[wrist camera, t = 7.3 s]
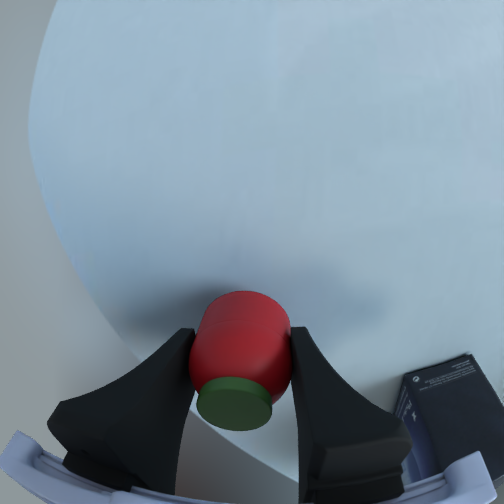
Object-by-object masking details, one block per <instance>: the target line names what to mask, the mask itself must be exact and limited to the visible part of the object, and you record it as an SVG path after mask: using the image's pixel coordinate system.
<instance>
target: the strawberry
mask: <svg viewBox="0 0 504 504" xmlns="http://www.w3.org/2000/svg"><path fill="white" fill-rule="evenodd" d="M188 367H189V374H190V378H191V381H192V384H193V386H194V388H195V389H196V391H197V393H198V394H199V395H198V399H197V403H196V406H197V410H198V412H199V414H200V415H201V417H202V418H203V419H205V420H206V421H207V422H209V423H210V424H212V425H214V426H216V427H219V428H222V429H226V430H232V431H248V430H253V429H257V428H259V427H261V426H263V425H265V424H266V423H267V422H268V421H269V420H270V418H271V415H272V405H273V404H274V403H275V402H276V401H277V400H279V399H280V398H281V396H282V395H283V394H284V392H285V391H286V389H287V387H288V385H289V383H290V380H291V377H292V372H293V361H292V354H291V338H290V322H289V318H288V316H287V314H286V312H285V311H284V309H283V308H282V307H281V306H280V305H279V304H278V303H277V302H276V301H274V300H273V299H272V298H270V297H268V296H266V295H263V294H261V293H257V292H252V291H235V292H230V293H227V294H224V295H222V296H220V297H219V298H217V299H216V300H214V301H213V302H212V303H211V304H210V305H209V306H208V308H207V309H206V311H205V313H204V316H203V319H202V321H201V324H200V326H199V329H198V332H197V334H196V337H195V339H194V342H193V345H192V347H191V350H190V354H189V362H188Z"/></svg>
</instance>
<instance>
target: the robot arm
mask: <svg viewBox="0 0 504 504" xmlns="http://www.w3.org/2000/svg"><path fill="white" fill-rule="evenodd" d="M195 337H196V335H195V331H194V329H192V328H181V329H180V330H179V331H177V332H176V333H175V334H174V335H173V336H172V337H171V338H170V339H169V340H168V341H167V342H166V343H164V344H163V345H162V346H161V347H160V348H159V349H158V350H157V351H156V352H154V353H153V354H152V355H151V356H150V357H148V358H147V359H146V360H145V361H143V362H142V363H141V364H140V365H138V366H137V367H136V368H134V369H133V370H131V371H130V372H128V373H127V374H125V375H124V376H122V377H120V378H119V379H117V380H115V381H113V382H111V383H109V384H108V385H106V386H104V387H102V388H99V389H97V390H95V391H92V392H90V393H87V394H85V395H82V396H79V397H75V398H72V399H68V400H65V401H61V402H60V403H59V404H58V406H57V407H56V409H55V410H54V412H53V413H52V415H51V416H50V418H49V420H48V421H47V425H48V428H49V430H50V432H51V433H52V434H53V435H54V437H55V438H56V439H57V440H58V441H59V442H60V443H61V444H62V445H63V446H64V448H65V449H66V450H67V451H68V452H67V454H66V456H65V458H64V460H63V459H61V458H59V457H57V456H54V455H53V454H51V453H49V452H47V451H45V450H43V448H42V447H41V446H40V445H39V444H38V443H37V442H36V441H35V440H33V439H32V438H31V437H29V436H27V435H25V434H24V433H22V432H21V431H19V430H17V431H16V433H15V434H14V436H13V437H12V439H11V440H10V442H9V443H8V445H7V447H6V448H5V450H4V451H3V453H2V455H1V456H0V468H1V469H2V470H3V471H4V472H5V473H7V474H8V475H9V476H10V477H11V478H12V479H14V480H15V481H16V482H17V483H18V484H20V485H21V486H22V487H24V488H25V489H26V490H27V491H29V492H31V493H32V494H33V495H35V496H36V497H38V498H40V499H41V500H43V501H44V502H46V503H47V504H232V503H220V502H211V501H204V500H196V499H190V498H184V497H178V496H175V481H176V472H177V463H178V456H179V449H180V444H181V438H182V433H183V428H184V424H185V420H186V417H187V414H188V411H189V408H190V405H191V402H192V399H193V396H194V393H195V390H196V389H195V388H194V386H193V384H192V381H191V378H190V374H189V367H188V362H189V354H190V350H191V347H192V345H193V342H194V339H195ZM290 338H291V354H292V361H293V372H292V377H291V385H292V391H293V398H294V405H295V411H296V418H297V426H298V451H299V504H489V503H490V502H492V501H493V500H494V499H496V497H497V494H496V491H495V489H494V486H493V483H492V480H491V478H490V475H489V473H488V470H487V468H486V465H485V463H484V460H483V458H482V456H481V453H480V451H476V452H474V453H472V454H470V455H468V456H466V457H463V458H461V459H459V460H457V461H455V462H453V463H452V464H451V465H449V466H448V467H447V468H446V469H445V471H444V472H443V473H440V474H437V475H435V476H432V477H429V478H426V479H424V480H421V481H418V482H414V483H411V484H408V485H405V486H403V482H402V478H401V475H402V474H403V468H402V465H401V463H402V462H403V461H404V459H405V458H406V457H407V455H408V454H409V452H410V451H411V449H412V447H413V441H412V439H411V436H410V433H409V431H408V429H407V427H406V425H405V424H404V422H403V420H402V419H400V418H398V417H396V416H394V415H392V414H390V413H388V412H386V411H384V410H383V409H381V408H379V407H378V406H376V405H374V404H373V403H371V402H370V401H369V400H367V399H366V398H365V397H363V396H362V395H361V394H359V393H358V392H357V391H356V390H354V389H353V388H352V387H351V386H350V385H349V384H348V383H347V382H346V381H345V380H344V379H343V378H342V377H341V376H340V375H339V374H338V373H337V372H336V371H335V370H334V369H333V367H332V366H331V365H330V364H329V363H328V361H327V360H326V359H325V357H324V356H323V354H322V353H321V352H320V350H319V349H318V347H317V346H316V344H315V343H314V341H313V339H312V338H311V336H310V334H309V332H308V330H307V328H306V327H290Z"/></svg>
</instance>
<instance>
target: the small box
mask: <svg viewBox="0 0 504 504" xmlns="http://www.w3.org/2000/svg"><path fill="white" fill-rule="evenodd" d="M393 415H394V416H396V417H398V418H400V419H402V420H403V422H404V424H405V425H406V427H407V429H408V431H409V433H410V436H411V439H412V441H413V447H412V449H411V451H410V452H409V454H408V455H407V457H406V458H405V459H404V461H403V462H402V463H401V465H402V468H403V474H402V475H401V478H402V482H403V486H405V485H408V484H411V483H414V482H418V481H421V480H424V479H426V478H429V477H432V476H435V475H437V474H440V473H443V472H444V471H445V469H446V468H447V467H448V466H449V465H451V464H452V463H453V462H455V461H457V460H459V459H461V458H463V457H466V456H468V455H470V454H472V453H474V452H476V451H480V453H481V456H482V458H483V460H484V463H485V465H486V468H487V470H488V473H489V475H490V478H491V480H492V483H493V486H494V489H496V488H497V487H498V486H500V485H501V484H502V483H503V482H504V406H503V404H502V403H501V401H500V399H499V397H498V396H497V394H496V392H495V391H494V389H493V388H492V386H491V384H490V383H489V381H488V380H487V378H486V376H485V375H484V373H483V372H482V370H481V368H480V366H479V365H478V363H477V362H476V360H475V358H474V357H473V355H472V354H470V355H467V356H465V357H462V358H459V359H456V360H453V361H451V362H448V363H445V364H441V365H438V366H435V367H431V368H427V369H424V370H421V371H417V372H414V373H411V374H407V375H405V377H404V380H403V384H402V388H401V391H400V395H399V398H398V401H397V405H396V408H395V411H394V414H393Z"/></svg>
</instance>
